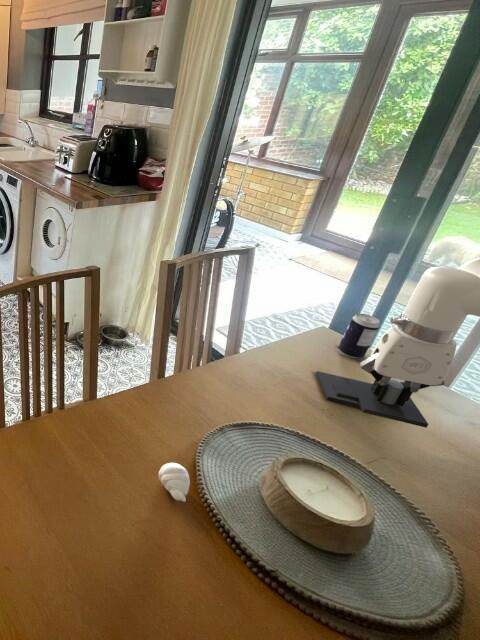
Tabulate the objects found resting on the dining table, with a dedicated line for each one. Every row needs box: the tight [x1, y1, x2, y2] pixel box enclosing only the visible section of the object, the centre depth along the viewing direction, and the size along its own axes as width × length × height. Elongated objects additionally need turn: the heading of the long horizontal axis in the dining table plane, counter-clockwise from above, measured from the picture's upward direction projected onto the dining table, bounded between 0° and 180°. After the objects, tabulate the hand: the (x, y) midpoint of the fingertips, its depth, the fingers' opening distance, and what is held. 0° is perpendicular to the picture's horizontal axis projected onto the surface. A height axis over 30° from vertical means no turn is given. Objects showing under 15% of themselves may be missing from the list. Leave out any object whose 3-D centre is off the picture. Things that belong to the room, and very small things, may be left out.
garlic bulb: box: [158, 462, 191, 503], centre depth 78 cm, size 6×6×5 cm
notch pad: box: [315, 370, 361, 409], centre depth 102 cm, size 10×10×1 cm
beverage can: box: [337, 313, 381, 359], centre depth 113 cm, size 6×6×12 cm
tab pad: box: [332, 378, 429, 428], centre depth 88 cm, size 14×10×6 cm
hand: (386, 398), depth 88 cm, fingers closed on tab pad, 2 cm apart
